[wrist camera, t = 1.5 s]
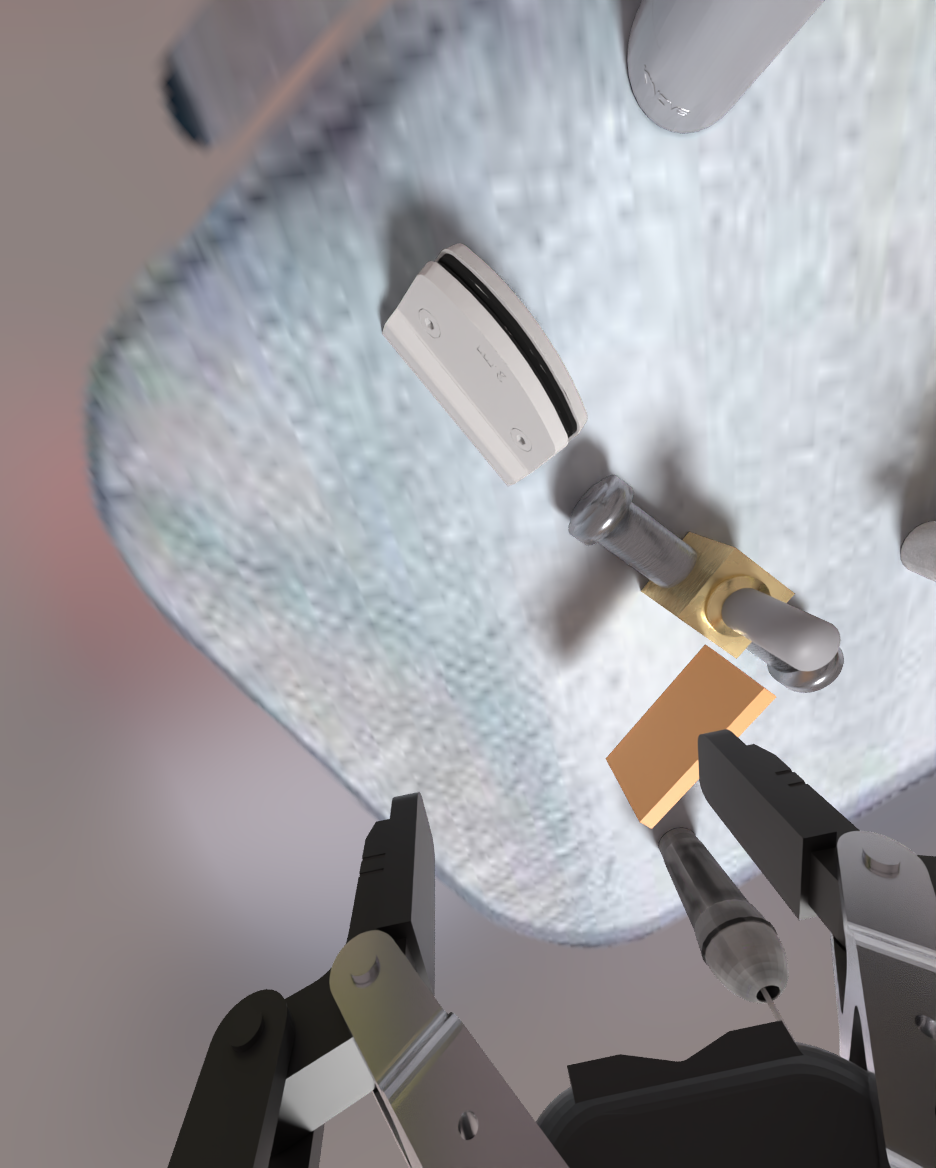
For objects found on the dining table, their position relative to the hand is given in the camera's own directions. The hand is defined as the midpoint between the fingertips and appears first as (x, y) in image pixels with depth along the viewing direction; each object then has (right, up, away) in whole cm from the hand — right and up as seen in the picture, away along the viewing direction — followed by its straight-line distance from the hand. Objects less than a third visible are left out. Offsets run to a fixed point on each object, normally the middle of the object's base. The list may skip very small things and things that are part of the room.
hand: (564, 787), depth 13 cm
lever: (+15, -2, +25) cm, 30 cm away
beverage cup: (+22, -25, +41) cm, 53 cm away
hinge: (-1, +23, +25) cm, 34 cm away
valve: (+19, +6, +31) cm, 37 cm away
